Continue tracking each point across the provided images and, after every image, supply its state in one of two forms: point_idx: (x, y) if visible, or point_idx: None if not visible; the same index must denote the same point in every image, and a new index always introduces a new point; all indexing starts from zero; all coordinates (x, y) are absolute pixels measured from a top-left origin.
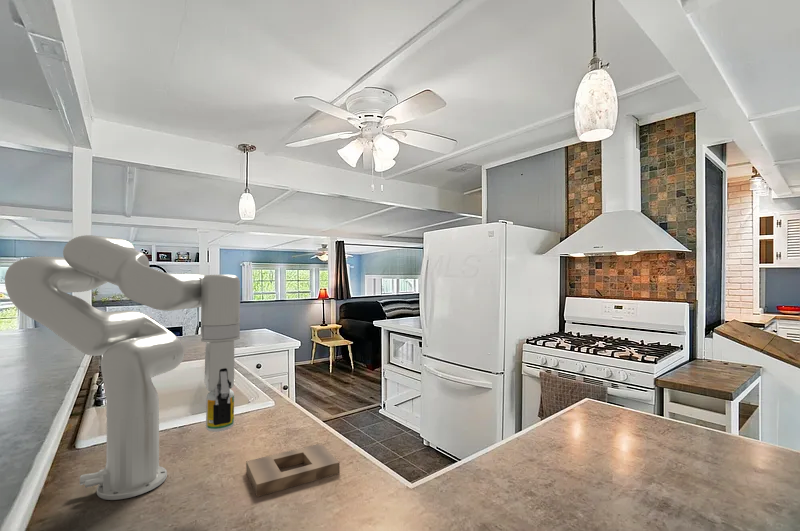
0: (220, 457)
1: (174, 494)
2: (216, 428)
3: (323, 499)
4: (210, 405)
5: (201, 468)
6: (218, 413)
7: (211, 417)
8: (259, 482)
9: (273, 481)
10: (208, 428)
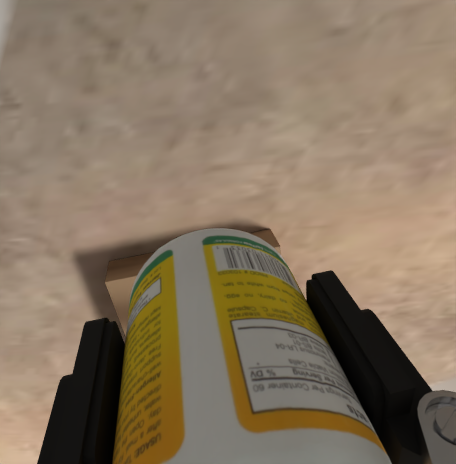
0: (421, 147)
1: (221, 7)
2: (130, 300)
3: (53, 386)
4: (139, 417)
5: (376, 90)
6: (48, 426)
7: (139, 328)
8: (115, 288)
9: (118, 316)
10: (158, 253)
